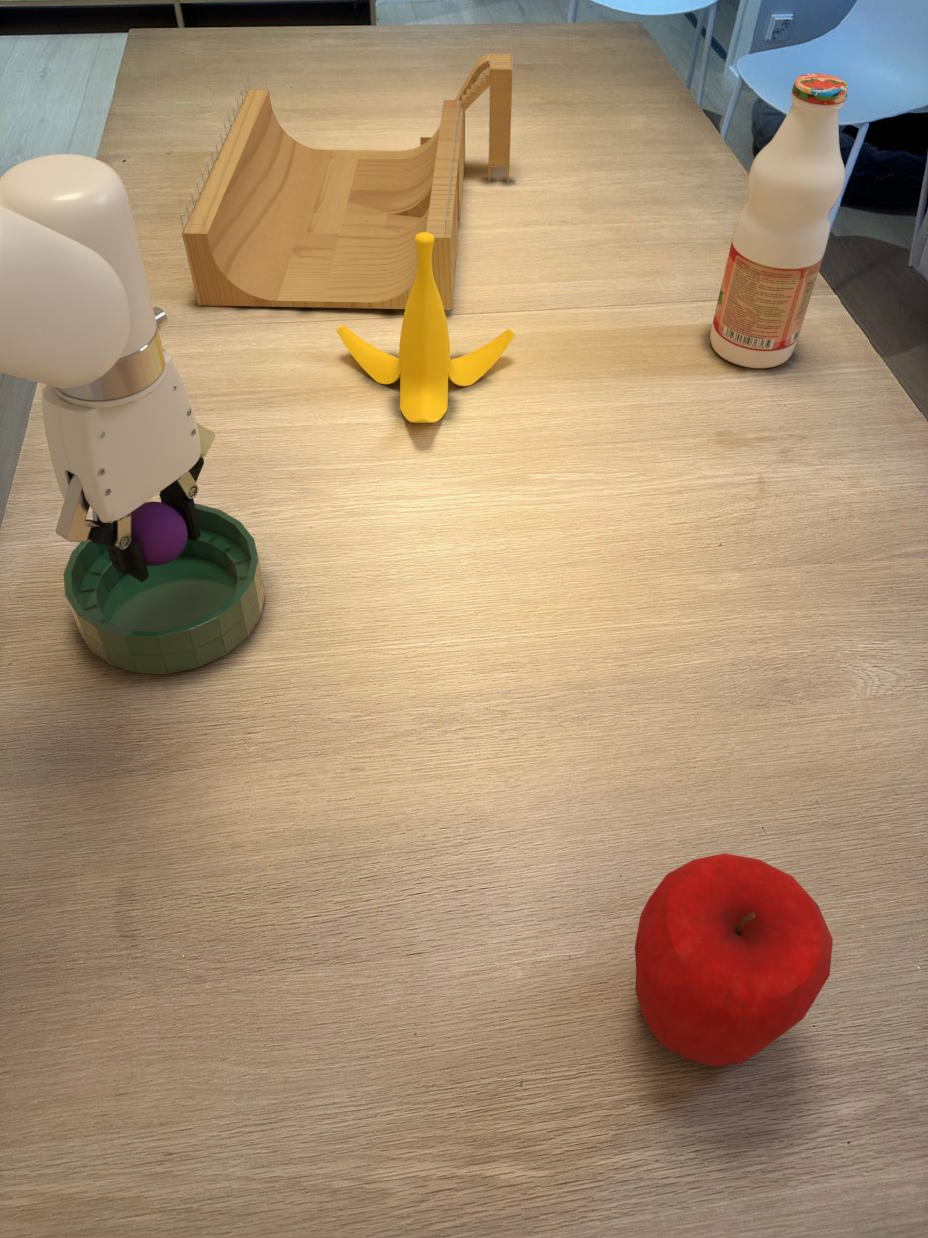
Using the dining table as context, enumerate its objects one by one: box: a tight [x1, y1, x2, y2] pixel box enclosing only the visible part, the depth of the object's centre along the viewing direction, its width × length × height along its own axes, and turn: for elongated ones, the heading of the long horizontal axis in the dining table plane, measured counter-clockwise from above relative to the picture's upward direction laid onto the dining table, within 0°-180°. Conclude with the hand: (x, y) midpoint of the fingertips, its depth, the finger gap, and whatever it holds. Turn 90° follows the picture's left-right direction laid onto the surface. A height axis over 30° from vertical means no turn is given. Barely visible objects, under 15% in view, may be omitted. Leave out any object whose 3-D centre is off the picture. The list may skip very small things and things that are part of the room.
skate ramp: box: [179, 38, 514, 311], centre depth 125 cm, size 40×35×16 cm
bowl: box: [63, 502, 266, 675], centre depth 84 cm, size 15×15×5 cm
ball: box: [131, 501, 187, 566], centre depth 80 cm, size 5×5×5 cm
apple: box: [634, 852, 834, 1068], centre depth 59 cm, size 11×10×14 cm
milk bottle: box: [710, 72, 849, 369], centre depth 104 cm, size 9×9×28 cm
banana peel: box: [336, 232, 516, 424], centre depth 100 cm, size 17×19×17 cm
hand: (158, 550), depth 81 cm, fingers closed on ball, 4 cm apart
